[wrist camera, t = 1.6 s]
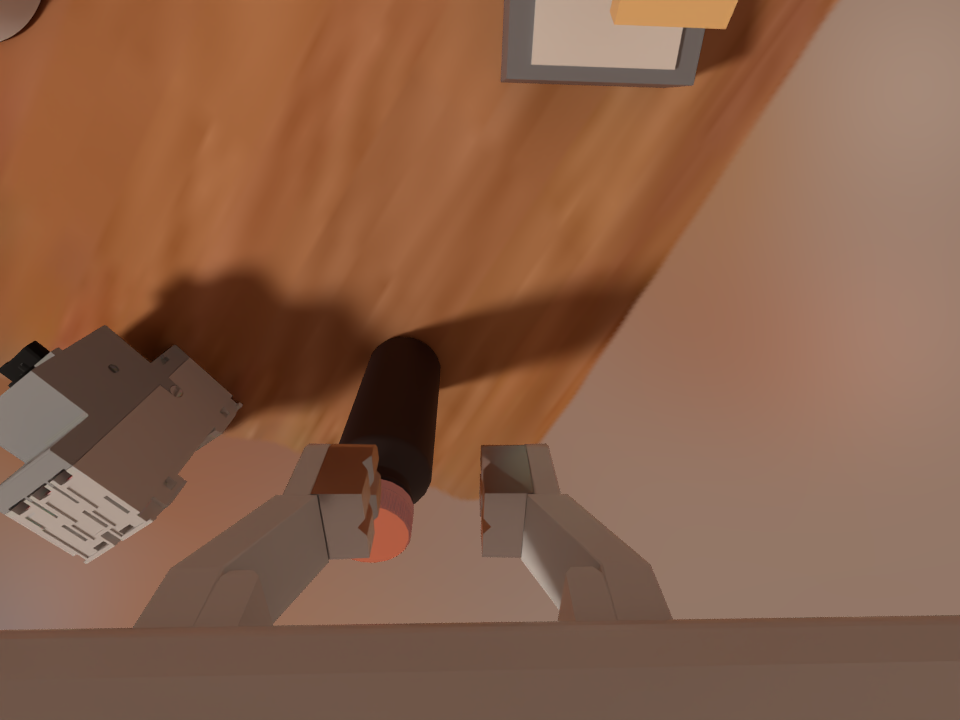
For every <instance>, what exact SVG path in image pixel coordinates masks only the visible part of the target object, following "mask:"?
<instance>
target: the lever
mask: <svg viewBox="0 0 960 720" xmlns="http://www.w3.org/2000/svg"><path fill="white" fill-rule="evenodd" d="M737 2H738V0H612V4H611V8H610V14H611V17H612V20H613V23H614V25H636V26H661V27H686V28H711V29H726V28H727V25H728V23H729V21H730V18H731V16H732V14H733V11H734V9H735V7H736V4H737Z"/></svg>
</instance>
